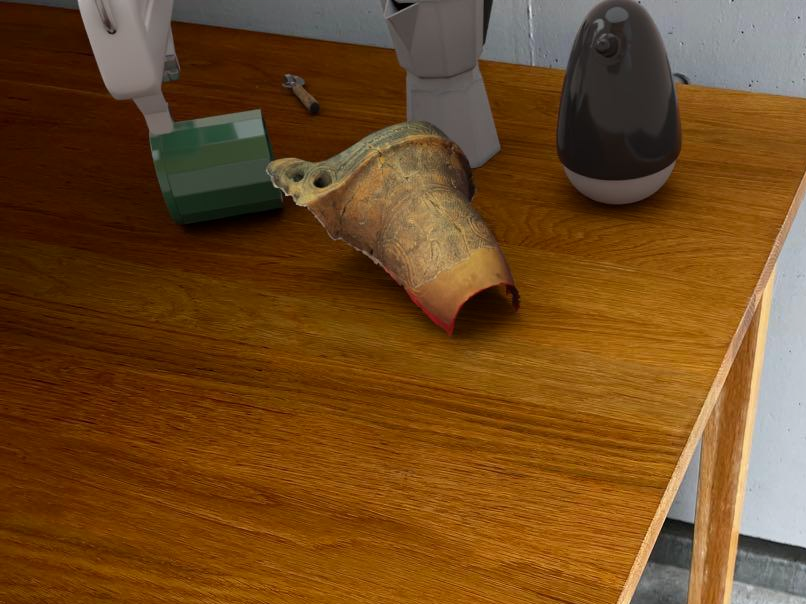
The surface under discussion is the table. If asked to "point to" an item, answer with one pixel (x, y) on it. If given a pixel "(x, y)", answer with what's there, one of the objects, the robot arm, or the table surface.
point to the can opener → (301, 92)
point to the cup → (216, 167)
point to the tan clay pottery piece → (405, 214)
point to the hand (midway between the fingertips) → (167, 103)
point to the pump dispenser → (618, 106)
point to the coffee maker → (446, 69)
